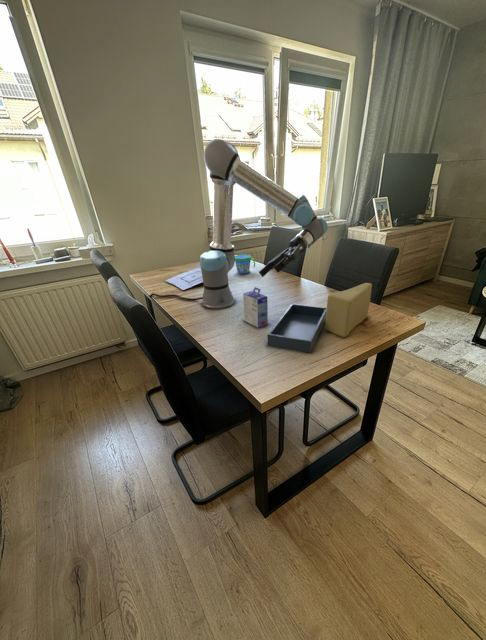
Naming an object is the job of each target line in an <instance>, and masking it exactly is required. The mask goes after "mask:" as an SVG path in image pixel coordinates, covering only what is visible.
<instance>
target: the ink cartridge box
mask: <svg viewBox="0 0 486 640" xmlns="http://www.w3.org/2000/svg"><path fill="white" fill-rule="evenodd" d="M261 290H262V289H260V288H258V287H256V286H255V287H254V288H253V290H249V291H247V292H244V293H242V299H243V300H242V301H243V303H242V304H243V321H245V322H246V323H248V324H249V325H252V326H254V327H255V328H258V329H259V328H261V327H265V326H267V325H268V324H269V321H268V319H269V317H268V316H269V315H268V313H269V312H268V310H269V309H268V305H269V304H268V296H267V295H265V294H262V293H260V292H261Z"/></svg>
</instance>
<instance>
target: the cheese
mask: <svg viewBox="0 0 486 640" xmlns="http://www.w3.org/2000/svg"><path fill="white" fill-rule="evenodd" d="M372 288H373V283H371V282H365V283H361V284H358V285H356V286H354V287H351V288H348V289H345V290H341V291H336V292H333V293H330V294H328V295H327V301H326V308H327V310H326V320H325V326H324V328H325V331H327V332H330V333H332V334H334V335H336V336H339V337H341V338H346V337H347V336H348V335H349V334H350V333H351V331H352V330H354V328H355V327H356V326H357V325H359V324H361V323H362V322H363V321H364V320H365V319H367V317H368V314H369V311H370V310H369V308H370V305H371V296H372Z"/></svg>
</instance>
